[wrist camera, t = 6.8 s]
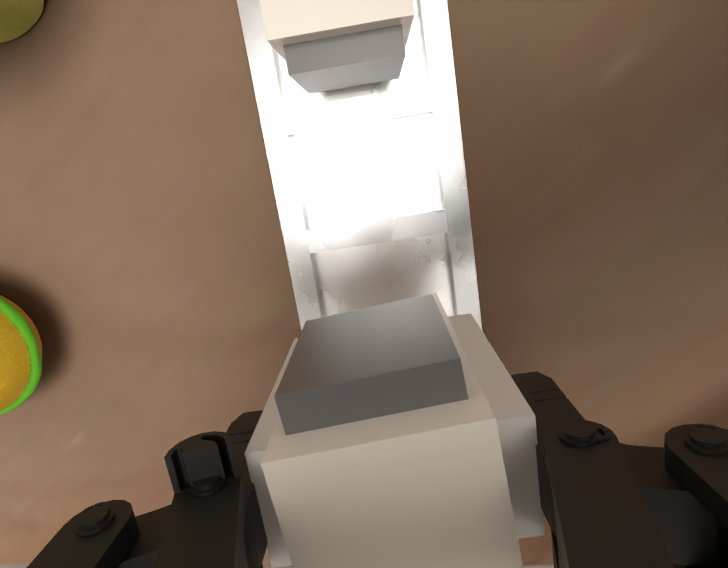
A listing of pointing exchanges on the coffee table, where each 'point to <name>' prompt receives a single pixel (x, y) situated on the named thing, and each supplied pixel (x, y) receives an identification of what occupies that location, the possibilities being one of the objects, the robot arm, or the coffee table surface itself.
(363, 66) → the block
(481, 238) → the coffee table surface
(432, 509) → the beige jaw block
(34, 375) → the yellow green oval
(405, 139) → the rail
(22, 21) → the plant pot
